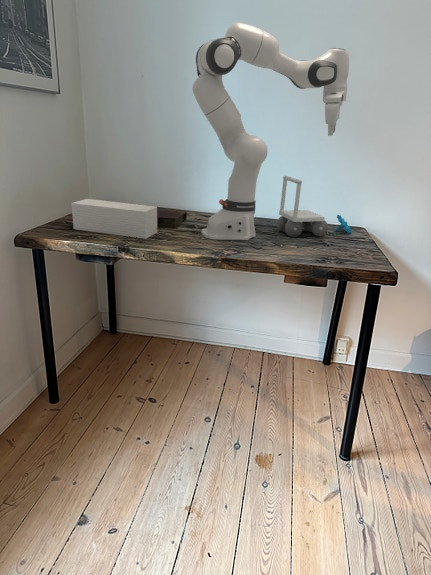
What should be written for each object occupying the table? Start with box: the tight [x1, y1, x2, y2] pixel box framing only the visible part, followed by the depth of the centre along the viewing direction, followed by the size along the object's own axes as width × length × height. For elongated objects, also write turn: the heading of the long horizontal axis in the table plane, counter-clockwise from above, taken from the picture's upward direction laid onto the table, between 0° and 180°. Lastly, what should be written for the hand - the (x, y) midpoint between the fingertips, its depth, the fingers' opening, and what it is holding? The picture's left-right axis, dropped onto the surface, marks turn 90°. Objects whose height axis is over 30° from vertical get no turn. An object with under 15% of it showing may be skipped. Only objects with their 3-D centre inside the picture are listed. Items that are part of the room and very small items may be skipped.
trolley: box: [276, 175, 329, 238], centre depth 173 cm, size 19×14×23 cm
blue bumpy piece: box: [334, 214, 353, 235], centre depth 183 cm, size 11×6×10 cm
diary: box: [157, 208, 188, 230], centre depth 183 cm, size 19×25×5 cm
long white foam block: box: [70, 198, 158, 240], centre depth 165 cm, size 32×11×11 cm, turn 73°
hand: (331, 134), depth 166 cm, fingers open, 8 cm apart
